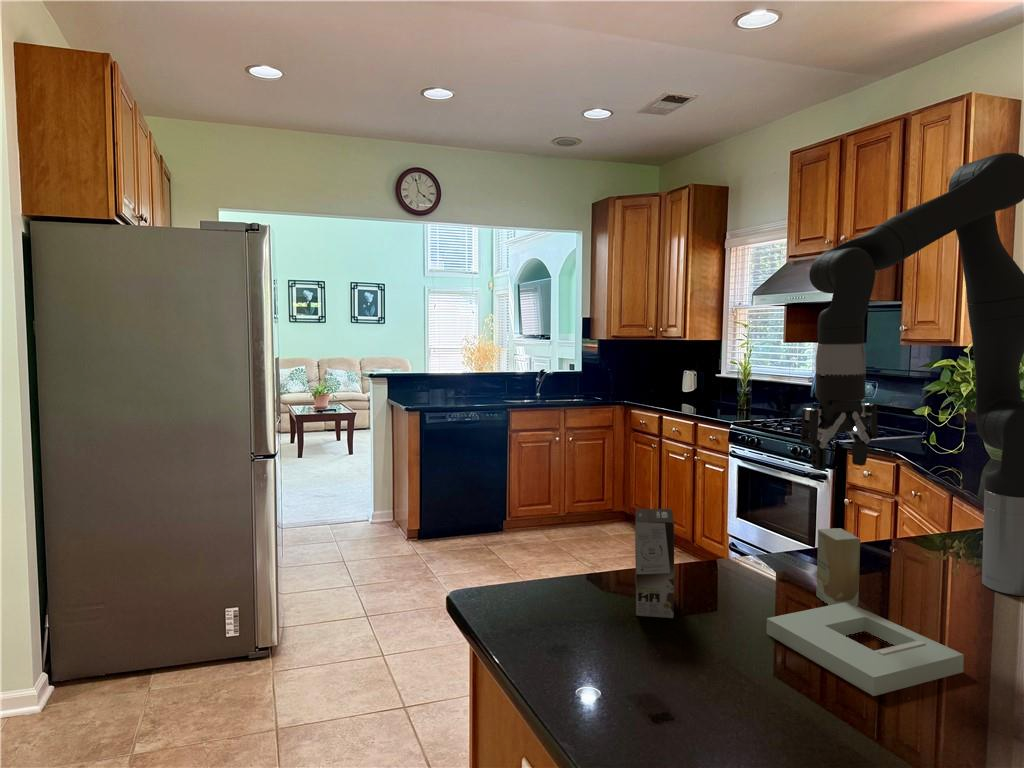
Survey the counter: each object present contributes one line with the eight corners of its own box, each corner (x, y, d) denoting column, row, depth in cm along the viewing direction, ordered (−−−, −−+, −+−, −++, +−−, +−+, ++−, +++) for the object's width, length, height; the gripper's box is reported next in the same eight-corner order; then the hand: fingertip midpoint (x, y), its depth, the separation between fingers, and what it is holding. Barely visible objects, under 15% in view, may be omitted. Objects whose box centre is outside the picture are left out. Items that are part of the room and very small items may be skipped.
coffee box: (675, 619, 115) (674, 522, 114) (635, 616, 116) (634, 521, 115) (673, 597, 124) (673, 508, 123) (636, 595, 125) (635, 507, 124)
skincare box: (815, 596, 123) (815, 528, 122) (839, 595, 123) (839, 526, 122) (835, 611, 116) (836, 539, 116) (860, 609, 117) (861, 537, 116)
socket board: (846, 616, 114) (847, 600, 114) (963, 672, 95) (963, 653, 95) (766, 633, 109) (766, 617, 108) (873, 696, 90) (873, 675, 90)
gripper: (855, 368, 123) (853, 460, 124) (789, 372, 118) (789, 467, 119) (891, 370, 116) (890, 467, 117) (823, 374, 111) (823, 475, 112)
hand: (839, 467), depth 118 cm, fingers open, 8 cm apart
